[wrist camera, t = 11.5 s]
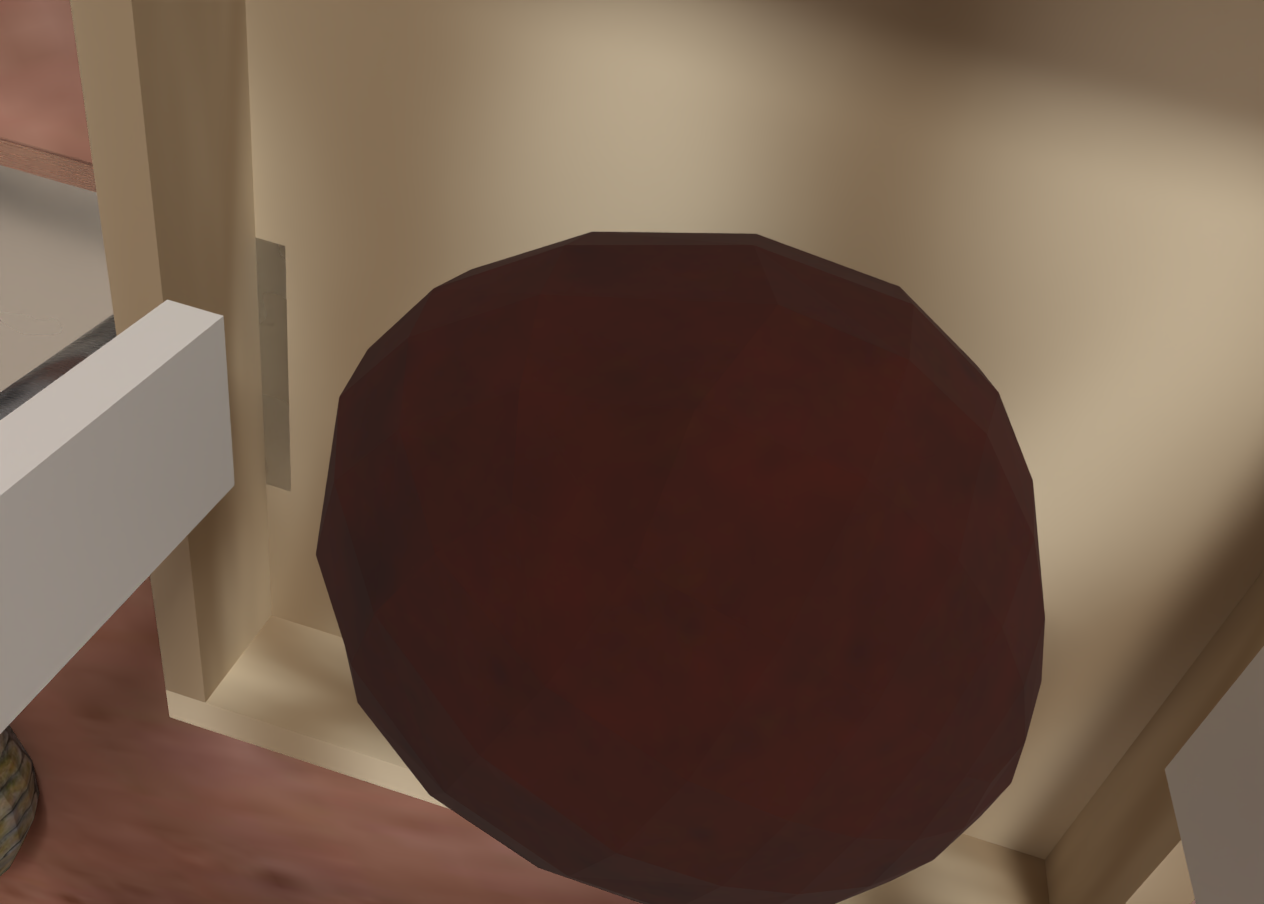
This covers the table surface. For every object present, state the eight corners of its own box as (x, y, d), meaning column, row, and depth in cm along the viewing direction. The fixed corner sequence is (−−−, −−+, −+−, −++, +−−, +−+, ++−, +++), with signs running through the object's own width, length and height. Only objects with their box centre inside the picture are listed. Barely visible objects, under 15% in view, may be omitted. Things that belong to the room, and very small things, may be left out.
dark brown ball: (831, 687, 18) (782, 1161, 12) (380, 420, 17) (80, 790, 11) (1186, 375, 14) (1396, 890, 8) (595, -18, 13) (278, 206, 7)
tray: (257, 604, 22) (169, 717, 20) (199, -465, 12) (-4, -524, 9) (1063, 859, 21) (1083, 1016, 18) (1813, -108, 10) (2107, -60, 8)
